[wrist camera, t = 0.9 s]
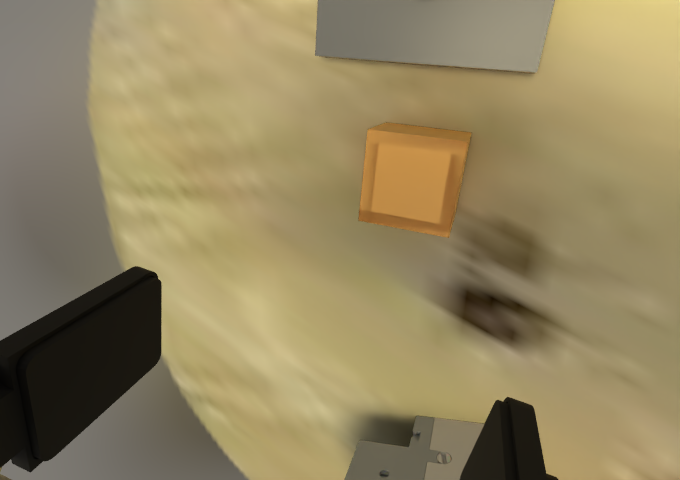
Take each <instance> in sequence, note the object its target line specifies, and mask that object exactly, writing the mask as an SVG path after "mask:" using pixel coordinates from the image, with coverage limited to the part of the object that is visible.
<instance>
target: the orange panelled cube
mask: <svg viewBox="0 0 680 480" xmlns="http://www.w3.org/2000/svg"><path fill="white" fill-rule="evenodd" d="M470 138H471V133H470V132H462V131H454V130H445V129H437V128H428V127H420V126H412V125H403V124H395V123H387V122H386V123H384V124H381V125H378V126H375V127H372V128H370V129H368V132H367V142H366V152H365V162H364V171H363V181H362V191H361V200H360V210H359V220H358V221H364V222H369V223H374V224H379V225H384V226H390V227H395V228H400V229H405V230H411V231H416V232H421V233H426V234H431V235H437V236H442V237H447V238H449V236H450V232H451V228H452V225H453V221H454V218H455V214H456V209H457V204H458V199H459V194H460V189H461V184H462V178H463V173H464V168H465V163H466V158H467V153H468V148H469V143H470Z"/></svg>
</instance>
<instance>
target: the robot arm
mask: <svg viewBox="0 0 680 480" xmlns="http://www.w3.org/2000/svg"><path fill="white" fill-rule="evenodd" d="M160 356H161V281H160V280H159V279H158V276H157V274H156V273H155V272H152V271H149V270H146V269H144V268H141V267H136V266H135V267H132V268H130V269H129V270H127V271H125V272H123V273H122V274H120V275H118V276H116V277H114V278H112V279H111V280H109V281H107V282H105V283H103V284H102V285H100V286H98V287H96V288H94V289H93V290H91V291H89V292H87V293H86V294H84V295H82V296H80V297H78V298H77V299H75V300H73V301H71V302H69V303H67V304H66V305H64V306H62V307H60V308H58V309H57V310H55V311H53V312H51V313H49V314H48V315H46V316H44V317H42V318H41V319H39V320H37V321H35V322H33V323H31V324H30V325H28V326H26V327H24V328H22V329H21V330H19V331H17V332H15V333H13V334H12V335H10V336H8V337H6V338H5V339H3V340H1V341H0V471H1V468H2V466H3V465H4V464H5V463H7V462H8V461H9V460H10V459H11V460H12V463H13V464H15V465H17V466H19V467H21V468H23V469H25V470H27V471H29V472H32V471H33V470H34V469H35V468H36V467H37V466H38V465H39V464H40V463H42V462H43V461H48V460H50V459H52V458H53V457H54V456H56V455H57V454H58V453H59V452H60V451H61V450H62V449H63V448H64V447H65V446H66V445H68V444H69V443H70V442H71V441H72V440H73V439H74V438H76V437H77V436H78V435H79V434H80V433H81V432H82V431H83V430H84V429H85V428H87V427H88V426H89V425H90V424H91V423H92V422H93V421H94V420H95V419H97V418H98V417H99V416H100V415H101V414H102V413H103V412H104V411H105V410H107V409H108V408H109V407H110V406H111V405H112V404H113V403H114V402H115V401H116V400H118V399H119V398H120V397H121V396H122V395H123V394H124V393H125V392H126V391H128V390H129V389H130V388H131V387H132V386H133V385H134V384H135V383H136V382H137V381H138V380H139V379H141V378H142V377H143V376H144V375H145V374H146V373H147V372H149V371H150V370H151V369H152V368H153V367H154V366H155V365H156V364H157V362H158V361H159V359H160ZM0 480H11V479H9V478H7V477H5V476H3V475H1V474H0ZM460 480H558V479H557V477H554V476H551V475H549V474H546V470H545V465H544V459H543V454H542V449H541V443H540V438H539V433H538V427H537V422H536V416H535V411H534V408H533V406H532V405H529V404H526V403H524V402H521V401H518V400H515V399H512V398H509V397H507V398H506V399H505V400H504V402H502V401H499V400H496V401H495V403H494V405H493V407H492V409H491V411H490V414H489V416H488V418H487V420H486V422H485V424H484V426H483V428H482V431H481V433H480V435H479V437H478V439H477V441H476V443H475V445H474V447H473V450H472V452H471V454H470V456H469V458H468V460H467V462H466V464H465V466H464V469H463V471H462V473H461V476H460Z"/></svg>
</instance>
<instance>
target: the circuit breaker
mask: <svg viewBox="0 0 680 480" xmlns="http://www.w3.org/2000/svg"><path fill="white" fill-rule="evenodd" d="M483 426H484V424H482V423H474V422H466V421H458V420H449V419H441V418H435V419H434V418H433V417H424V416H416V419H415V423H414V428H413V438H412V437H411V441H410V445H409V447H404V446H397V445H391V444H384V443H377V442H370V441H363V440H360V441H359V442H358V445H357V448H356V450H355V453H354V456H353V458H352V461H351V464H350V466H349V469H348V472H347V474H346V477H345V480H460V476H461V473H462V471H463V469H464V466H465V464H466V462H467V460H468V458H469V456H470V454H471V452H472V450H473V447H474V445H475V443H476V441H477V439H478V437H479V435H480V433H481V431H482V428H483Z"/></svg>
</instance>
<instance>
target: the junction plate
mask: <svg viewBox="0 0 680 480" xmlns="http://www.w3.org/2000/svg"><path fill="white" fill-rule="evenodd" d="M554 1H555V0H318V11H317V30H316V50H315V56H321V57H329V58H342V59H355V60H368V61H380V62H393V63H406V64H419V65H432V66H445V67H458V68H471V69H484V70H497V71H510V72H523V73H537V71H538V67H539V63H540V59H541V54H542V50H543V46H544V42H545V38H546V34H547V30H548V26H549V22H550V18H551V14H552V10H553V6H554Z"/></svg>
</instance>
